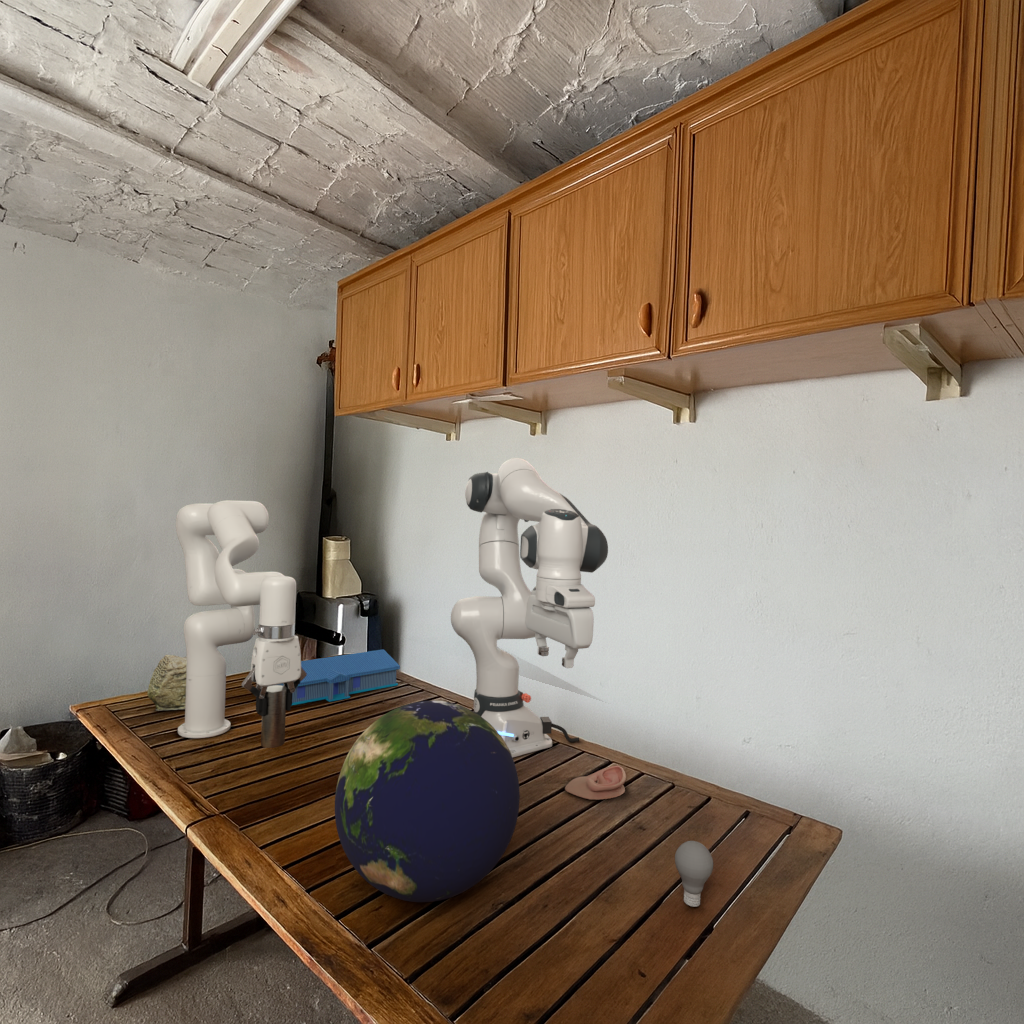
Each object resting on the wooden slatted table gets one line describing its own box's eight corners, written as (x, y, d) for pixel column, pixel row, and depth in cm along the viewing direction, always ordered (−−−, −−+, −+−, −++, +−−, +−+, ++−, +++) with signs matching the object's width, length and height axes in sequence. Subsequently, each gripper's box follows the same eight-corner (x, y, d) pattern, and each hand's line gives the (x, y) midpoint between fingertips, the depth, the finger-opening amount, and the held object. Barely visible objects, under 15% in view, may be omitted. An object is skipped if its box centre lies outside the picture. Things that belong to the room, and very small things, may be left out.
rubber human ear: (563, 778, 138) (569, 757, 150) (563, 796, 138) (569, 774, 150) (625, 786, 136) (626, 764, 147) (624, 804, 136) (625, 781, 147)
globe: (289, 913, 96) (297, 717, 96) (396, 823, 124) (403, 671, 123) (466, 976, 85) (475, 755, 84) (540, 862, 113) (548, 695, 112)
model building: (289, 709, 186) (291, 675, 185) (258, 688, 204) (259, 657, 204) (403, 687, 212) (405, 657, 212) (366, 670, 230) (368, 643, 230)
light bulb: (667, 892, 105) (670, 833, 105) (702, 892, 106) (705, 833, 106) (680, 916, 99) (683, 853, 99) (717, 916, 100) (720, 853, 100)
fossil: (144, 707, 182) (145, 655, 182) (212, 696, 194) (213, 647, 194) (151, 716, 175) (153, 662, 175) (221, 703, 188) (223, 653, 188)
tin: (270, 749, 139) (272, 693, 139) (256, 744, 142) (258, 688, 141) (289, 742, 143) (291, 688, 143) (274, 737, 146) (276, 683, 146)
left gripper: (246, 639, 133) (243, 725, 133) (320, 629, 146) (317, 708, 146) (231, 633, 138) (228, 715, 139) (303, 624, 151) (301, 700, 151)
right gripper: (519, 584, 133) (516, 650, 133) (571, 600, 115) (568, 676, 115) (545, 584, 136) (542, 648, 136) (600, 599, 118) (597, 673, 118)
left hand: (274, 711), depth 142 cm, fingers closed on tin, 5 cm apart
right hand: (554, 661), depth 126 cm, fingers open, 8 cm apart
